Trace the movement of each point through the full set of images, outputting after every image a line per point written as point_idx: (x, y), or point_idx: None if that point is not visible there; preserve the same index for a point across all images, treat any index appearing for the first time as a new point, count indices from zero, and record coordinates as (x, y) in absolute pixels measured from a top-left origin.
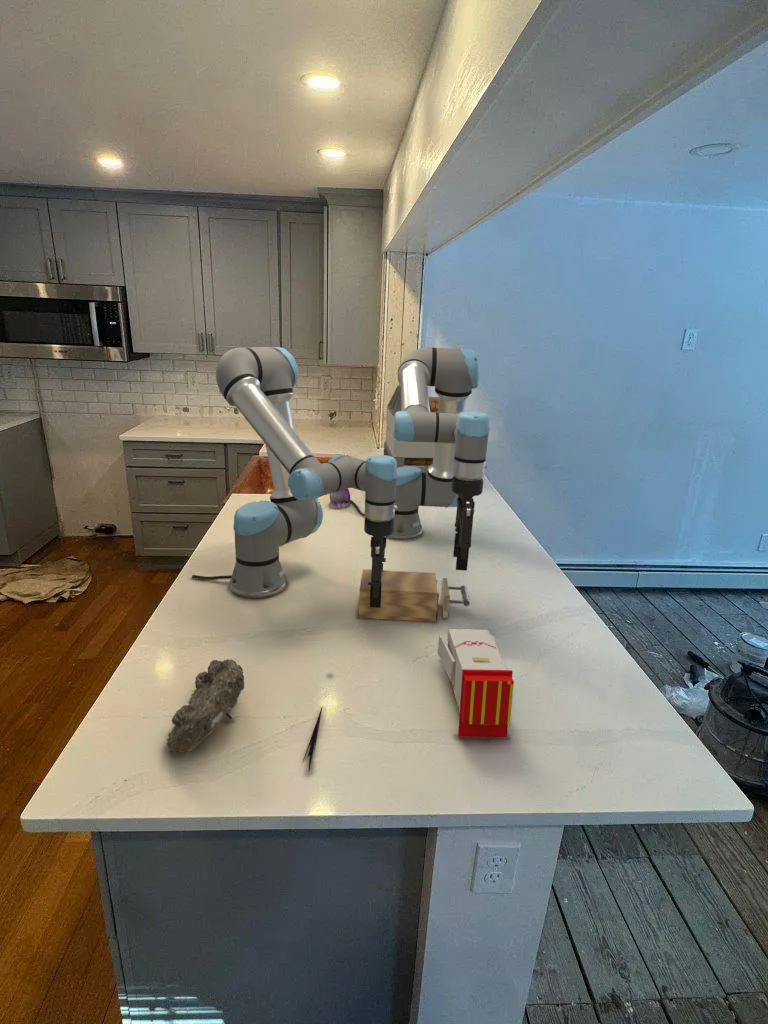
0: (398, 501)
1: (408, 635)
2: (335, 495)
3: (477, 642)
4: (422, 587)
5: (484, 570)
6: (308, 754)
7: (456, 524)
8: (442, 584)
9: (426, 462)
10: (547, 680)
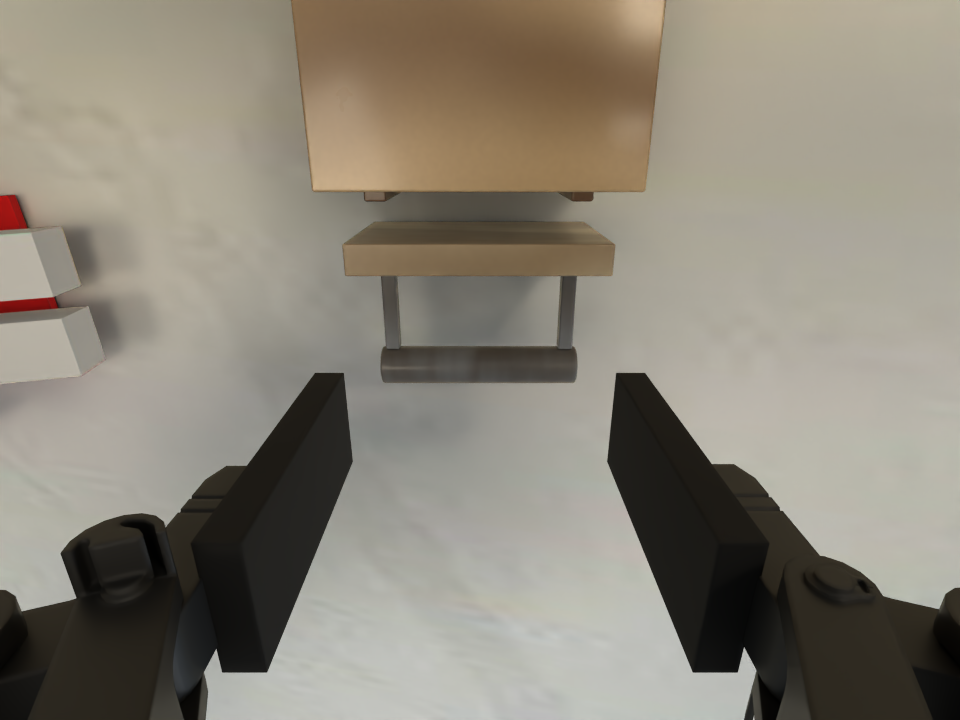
0: None
1: (189, 9)
2: None
3: None
4: (376, 63)
5: (926, 474)
6: None
7: (894, 688)
8: (574, 238)
9: None
10: (49, 560)
